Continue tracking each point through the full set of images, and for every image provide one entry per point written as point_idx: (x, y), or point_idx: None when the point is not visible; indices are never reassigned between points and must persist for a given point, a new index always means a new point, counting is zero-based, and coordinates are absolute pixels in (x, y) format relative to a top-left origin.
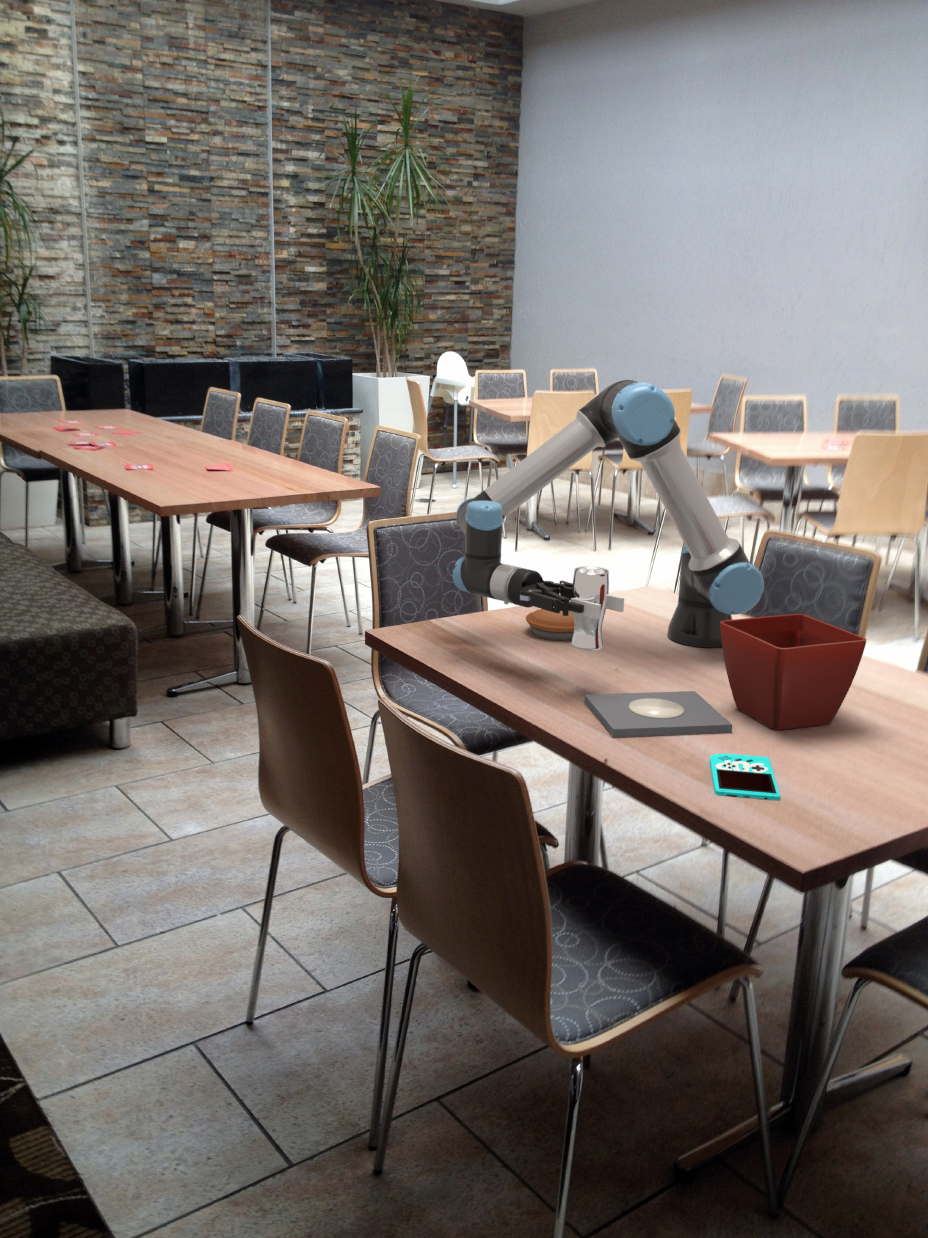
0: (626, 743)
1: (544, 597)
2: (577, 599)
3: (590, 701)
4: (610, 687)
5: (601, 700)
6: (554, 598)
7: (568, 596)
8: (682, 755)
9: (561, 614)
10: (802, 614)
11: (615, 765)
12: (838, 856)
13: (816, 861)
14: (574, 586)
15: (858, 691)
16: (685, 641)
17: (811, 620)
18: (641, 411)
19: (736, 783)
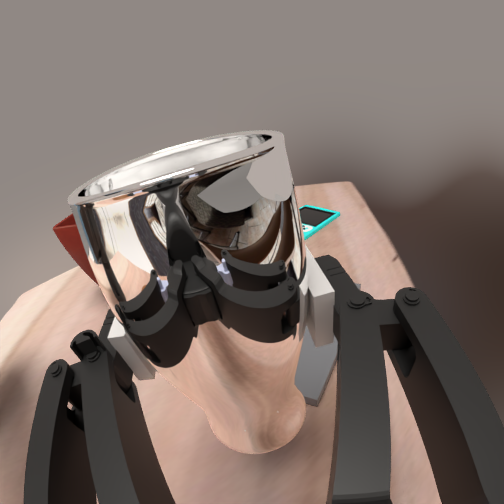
0: (353, 279)
1: (466, 358)
2: (311, 273)
3: (330, 369)
4: (209, 443)
5: (308, 366)
6: (418, 324)
7: (162, 497)
8: (317, 251)
9: None
10: (54, 226)
11: (390, 251)
12: (325, 183)
13: (338, 183)
14: (301, 241)
15: (63, 291)
16: None
17: (67, 220)
18: None
19: (318, 215)
